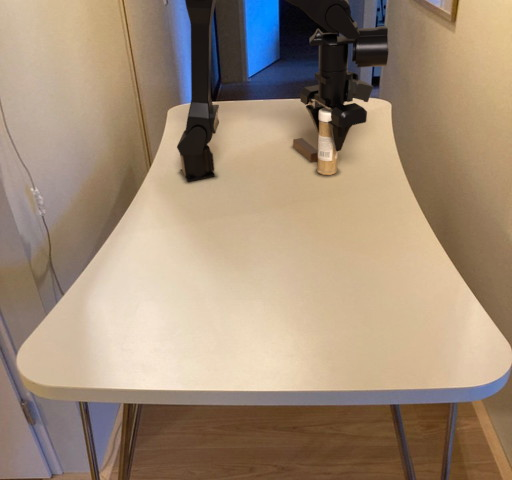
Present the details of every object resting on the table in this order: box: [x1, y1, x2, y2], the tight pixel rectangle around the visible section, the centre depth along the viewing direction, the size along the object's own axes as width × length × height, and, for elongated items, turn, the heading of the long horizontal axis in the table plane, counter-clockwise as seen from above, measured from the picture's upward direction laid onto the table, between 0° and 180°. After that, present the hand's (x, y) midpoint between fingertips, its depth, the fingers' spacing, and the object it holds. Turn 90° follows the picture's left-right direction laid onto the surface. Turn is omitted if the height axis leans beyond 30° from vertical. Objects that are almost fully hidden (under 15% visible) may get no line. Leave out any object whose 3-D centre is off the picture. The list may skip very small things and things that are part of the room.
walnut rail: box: [292, 137, 318, 163], centre depth 131 cm, size 2×10×2 cm, turn 21°
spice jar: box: [316, 108, 339, 176], centre depth 119 cm, size 5×5×13 cm
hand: (330, 145), depth 119 cm, fingers open, 6 cm apart
